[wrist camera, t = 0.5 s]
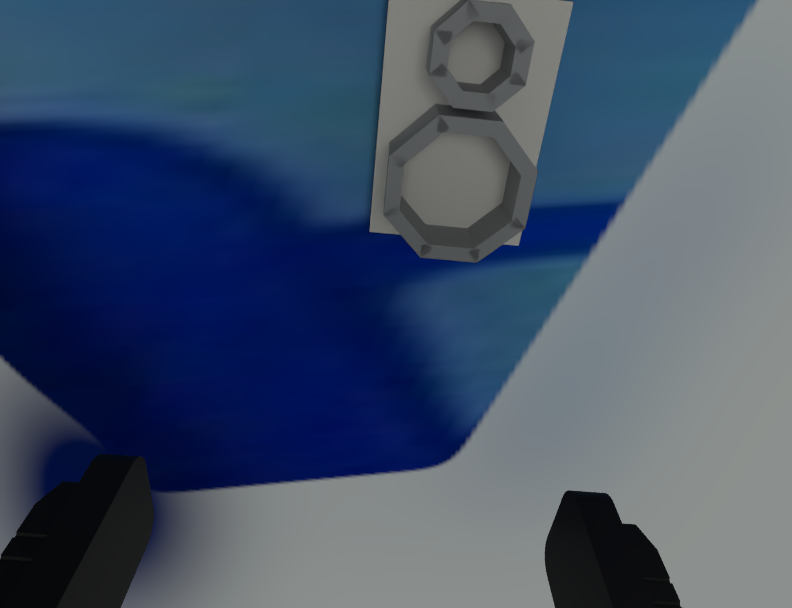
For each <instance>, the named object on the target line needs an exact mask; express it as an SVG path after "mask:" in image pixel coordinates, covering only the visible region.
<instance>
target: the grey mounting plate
mask: <svg viewBox="0 0 792 608" xmlns="http://www.w3.org/2000/svg"><path fill="white" fill-rule="evenodd" d="M572 6H573V2H569V1H560V0H389V3H388V15H387V27H386V39H385V51H384V63H383V75H382V87H381V99H380V111H379V123H378V135H377V147H376V159H375V171H374V183H373V195H372V207H371V219H370V231H369V232H377V233H388V234H399V235H401V236H402V237H403V238H404V239H405V240H406V242H407V243H408V244H409V245H410V246H411V247H412V248H413V250H414V251H415V252H416V253H417V254H418V255H419V256H420V258H432V259H443V260H454V261H465V262H476V263H477V262H478V261H480V260H481V259H483V258H484V257H486V256H487V255H488V254H490V253H491V252H493V251H494V250H496V249H497V248H498V247H500V246H501V245H503V244H506V245H517V246H519V242H520V237H521V233H522V231H523V230H524V229H525V227H526V222H527V218H528V213H529V209H530V205H531V200H532V196H533V191H534V187H535V183H536V178H537V174H538V170H537V168H536V166H537V162H538V157H539V153H540V148H541V144H542V139H543V135H544V131H545V126H546V122H547V117H548V113H549V108H550V104H551V99H552V95H553V91H554V86H555V82H556V77H557V73H558V68H559V64H560V59H561V55H562V51H563V46H564V42H565V37H566V33H567V28H568V24H569V20H570V15H571V11H572Z"/></svg>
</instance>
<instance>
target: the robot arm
mask: <svg viewBox="0 0 792 608" xmlns="http://www.w3.org/2000/svg"><path fill="white" fill-rule="evenodd" d="M153 518H154V510H153V503H152V497H151V492H150V486H149V480H148V474H147V468H146V463H145V460H144V458H143V457H139V456H125V455H112V454H99V455H97V456H96V457H95V458H94V459H93V461H92V462H91V464H90V465H89V467H88V469H87V470H86V472H85V473H84V475H83V477H82V478H81V480H80V482H79V483H78V482H61V483H60V484H59V485H58V486H56V487H55V488H54V489H53V490H52V491H50V492H49V493H48V494H47V495H46V496H44V497H43V498H42V499H41V500H40V501H38V502H37V503H36V504H35V505H34V506H33V508H32V510H31V511H30V513H29V514H28V515H27V517H26V518H25V520H24V521H23V523H22V524H21V526H20V527H19V529H18V530H17V534H16V536H15V538H12V539H11V541H10V542H9V544H8V545H7V547H6V548H5V550H4V551H3V553H2V554H1V559H0V608H121V605H122V603H123V601H124V598H125V596H126V593H127V591H128V589H129V587H130V583H131V582H132V579H133V577H134V575H135V573H136V570H137V568H138V566H139V563H140V561H141V559H142V556H143V554H144V552H145V549H146V547H147V544H148V542H149V539H150V535H151V530H152V526H153ZM545 566H546V572H547V577H548V581H549V585H550V589H551V593H552V597H553V601H554V605H555V608H681V606H680V600H679V598H678V595H677V593H676V591H675V589H674V586H673V584H671V583H670V581H669V578H670V577H669V575H668V573H667V571H666V568H665V566H664V564H663V562H662V560H661V557H660V555H659V553H658V551H657V549H656V548H655V547H654V545H653V544H652V543H651V542H650V541H649V540H648V539H647V537H646V536H645V535H644V534H643V533H642V532H641V530H640V529H639V528H638V527H637V526H636V525H634V524H622V522H621V520H620V517H619V515H618V513H617V510H616V508H615V505H614V503H613V501H612V499H611V497H610V496H609V495H608V494H606V493H596V492H582V491H566V492H565V494H564V496H563V498H562V500H561V503H560V506H559V508H558V511H557V514H556V516H555V519H554V521H553V524H552V527H551V529H550V532H549V534H548V537H547V541H546V546H545Z"/></svg>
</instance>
